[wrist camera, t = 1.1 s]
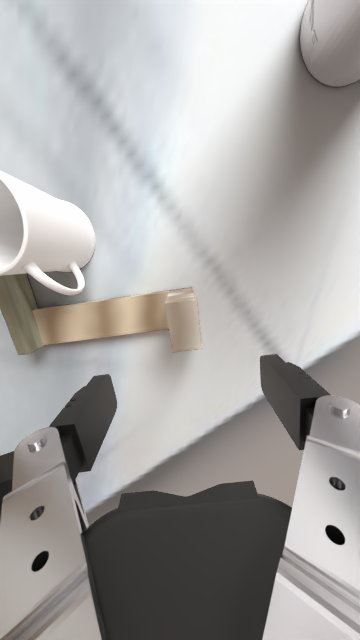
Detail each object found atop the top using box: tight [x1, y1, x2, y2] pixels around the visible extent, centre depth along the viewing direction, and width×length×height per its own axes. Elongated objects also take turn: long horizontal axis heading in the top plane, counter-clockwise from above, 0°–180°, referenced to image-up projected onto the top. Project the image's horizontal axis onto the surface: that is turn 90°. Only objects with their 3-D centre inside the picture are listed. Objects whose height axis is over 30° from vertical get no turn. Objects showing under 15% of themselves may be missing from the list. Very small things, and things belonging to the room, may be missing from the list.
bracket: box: [0, 274, 202, 355], centre depth 23 cm, size 23×19×9 cm
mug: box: [0, 171, 95, 295], centre depth 21 cm, size 12×8×12 cm
